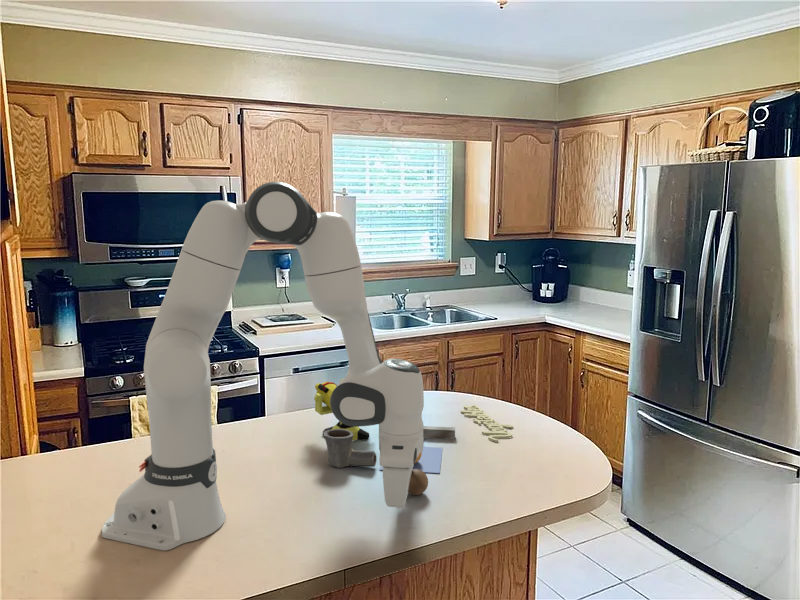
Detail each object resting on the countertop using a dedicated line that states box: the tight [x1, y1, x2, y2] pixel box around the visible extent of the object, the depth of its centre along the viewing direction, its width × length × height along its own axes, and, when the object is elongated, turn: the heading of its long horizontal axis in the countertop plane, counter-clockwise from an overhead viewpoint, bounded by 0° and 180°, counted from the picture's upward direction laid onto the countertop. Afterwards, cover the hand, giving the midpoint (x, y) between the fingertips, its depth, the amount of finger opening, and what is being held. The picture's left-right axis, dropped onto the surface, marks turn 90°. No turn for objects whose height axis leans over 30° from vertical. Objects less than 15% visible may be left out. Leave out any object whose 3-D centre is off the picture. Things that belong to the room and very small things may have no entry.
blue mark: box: [379, 446, 443, 475], centre depth 147 cm, size 14×14×1 cm
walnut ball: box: [407, 469, 429, 496], centre depth 130 cm, size 5×5×5 cm
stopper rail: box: [423, 425, 456, 440], centre depth 161 cm, size 20×2×2 cm, turn 84°
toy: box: [313, 378, 370, 442], centre depth 161 cm, size 17×14×15 cm
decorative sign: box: [460, 404, 514, 443], centre depth 171 cm, size 26×1×10 cm
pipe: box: [322, 429, 377, 468], centre depth 143 cm, size 6×13×8 cm, turn 77°
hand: (400, 505), depth 123 cm, fingers closed
